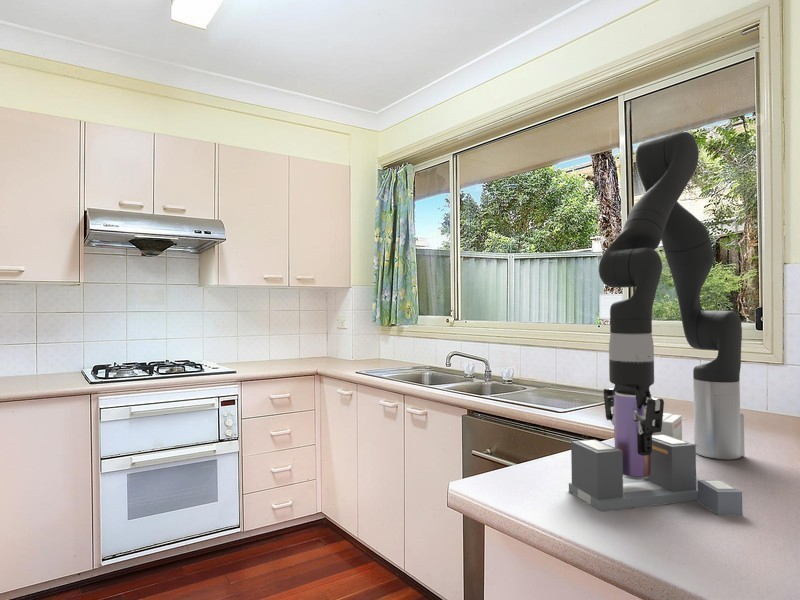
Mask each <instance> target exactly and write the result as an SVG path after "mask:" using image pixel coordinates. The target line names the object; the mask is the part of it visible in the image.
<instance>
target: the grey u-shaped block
mask: <svg viewBox="0 0 800 600" xmlns="http://www.w3.org/2000/svg"><path fill="white" fill-rule="evenodd" d="M570 443H571V445H570V448H571V452H570V453H571V461H570V462H571V482H568V491H569V493H571V494H573V495H575V496H576V497H578V498H579V499H581V500H582V501H584V502H586V503H587V504H589V505H591V506H592V507H594V508H596V509H597V510H598V511H601V512H602V511H603V512H605V511H613V510H623V509H630V508H632V507H633V508H639V507H641V506H642V507H650V506H658V505H667V504H668V505H669V504H677V503H685V502H694V501H695V502H696V501H698V489H697V455H696V454H697V453H696V445H695V444H694V443H691V442H688V441H685V440H683V439H682V440H679V439H676V438H673V437H670V436H667V435H652V452H651V474H650V476H649V477H648V478H647V479H642V480H635V479H628V478H624V477H623V454H622V450H619V449H617V448H615V446H612V445H609V444H606V443H605V442H602V441H600V440H597V439H586V440H585V439H584V440H572V441H571V442H570Z"/></svg>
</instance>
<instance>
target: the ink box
mask: <svg viewBox="0 0 800 600" xmlns="http://www.w3.org/2000/svg"><path fill="white" fill-rule="evenodd" d="M682 421H683V419H682V415H681V414H680V415H679V414H672V413H670V412H669V413H667V412H663V419H662V430H661V432H657V433H653V434H652V435H667V436H670V437H673V438H676V439H679V440H682V441H683V426H682V425H683V424H682ZM652 424H653V425H655V420H653V422H652Z"/></svg>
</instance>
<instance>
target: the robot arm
mask: <svg viewBox="0 0 800 600" xmlns="http://www.w3.org/2000/svg"><path fill="white" fill-rule="evenodd" d="M699 156H700V151H699V146H698V143H697V140H696V138H695V137H694V136H693V135H692V134H691V133H690V132H688V131H678V132H675V133H671V134H667V135H666V134H665V135H663V136H660V137H657V138H652V139H650V140H647V141H644V142H641V143H640V144H639V145H638V146H637V148H636V150H635V163H636V168H637V172H638V176H639V178H640V182H641V183H642V184H641V185H642V186H643V188H644V189H643V190H644V192H645V193H644V194H643V195H642V196H640V198H638V200H637V201H636V202H635V203H634V205H633V206H632V207H631V209H630V211H629V213H628V215H627V217H626V221H625V223H624V226H623V229H622V231H621V232H620V233H619V234H618V235H617V236H616V238H615V239H614V240H613V241H612V242H611V244H610V245H608V247H607V248H606V250H605V251H604V252H603V254H602V256H601V258H600V261H599V265H598V274H599V278H600V280H601V282H602V283H603V284H604V285H605V286H606V287H609V288H614V289H615V288H617V289H618V288H619V289H621V288H635V290H634V292H633V294H632V296H631V297H629V298H627V299H622V300H618V301H615V302H613V303H612V304H611V305H610V309H609V316H610V317H609V343H608V362H609V363H608V364H609V365H608V366H609V367H608V368H609V370H608V374H609V380H608V381H609V382H610V383H611V384H613V385H614V386H613V387H612V388H611V387H610V388H604V389H603V390H602V391H603V401H604V409H605V411H604V413H605V418H606V420H607V421H611V424H612V426H614V397H615V392H616V391H618V392H621V393H625V394H630V395H636V401H637V407H638V408H639V409H641V407H642V406H643V404H644V402H645V409H646V415H643V416H639V415H638V414H637V411H636V410H635V409H634V408H633V420H634V421H636V423H637V430H638V433H639V434H638V454H639V455H642V456H646V455H650V454H651V452H652V434H653V433H657V432H661V430H662V419H663V413H664V408H665V407H664V406H665V401H664V399H663V398H656V397H655V398H654V397H652V394H651V391H650V387H651V386H652V385H654V383H655V356H654V355H655V353H654V352H655V351H654V350H655V349H654V347H655V345H654V341H653V324H652V323H653V320H652V319H653V318H652V317H653V315H652V313H653V308H654V307H653V306H654V302H655V297H656V293H657V290H658V286H659V284H660V280H661V276H662V271H663V261H662V258H661V256H660V254H659V253H658V251H657V248H658V247H659V245H660V244H662V248H663V250H664V255H665V257H666V258H665V259H666V261H667V266H668V267H669V272H670V274H671V277H672V281H673V284H674V287H675V292H676V296H677V300H678V306H679V307H678V308H679V311H680V317H681V322H682V323H681V324H682V329H683V332H684V337H685V340H686V342H687V343H688V344H689V346H690V347H691V348H692V349H696V350H704V351H706V350H707V351H718V352H717V356H716V358H715V359H714V360H712V361H710V362H707V363H702V364H699V365H695V366H694V368H693V371H692V373H693V374H692V375H693V376H692V377H693V378H692V380H693V385H692V386H693V431H694V432H693V433H694V435H693V437H694V442H693V444H695V445H696V454H697V455H699V456H703V457H706V458H710V459H711V458H712V459H718V460H738V459H740V458H742V457H745V416H744V414H743V413H741V394H740V393H741V388H740V387H741V383H740V380H741V379H740V376H741V375H740V374H741V368H742V367H741V366H742V365H741V364H742V342H743V341H742V339H743V326H742V320H741V318H740V316H739V314H738V313H737V312H736V311H733V310H704V309H703V308H702V303H701V299H700V298H701V291H702V288H703V286H704V284H705V281H706V279H707V278H708V276H709V274H710V272H711V270H712V267H713V264H714V261H715V254H714V249H713V246H712V245H713V244H712V241H711V238H710V234H709V231H708V229H707V227H706V226H705V225H704V224H703V223H702V222H701V221H700V220H699V219H698V218H697V217H696V216H695V215H694V214H693V213H691V212H690V211H688V209H686V208H685V207H684V206H682V205H681V203H680V202H679V201H678V200H679V199H680V197H681V196H682V194H683V192H684V191H685V189H686V187H687V186H688V184H689V182H690V180H691V179H692V177H693V175H694V173H695V171H696V169H697V167H698V163H699ZM612 407H613V408H612ZM642 420H645V427H643V424H642ZM653 420H655V425H653V424H652V422H653ZM613 431H614V430H613ZM613 433H614V435H613V437H614V440H615V431H614V432H613Z"/></svg>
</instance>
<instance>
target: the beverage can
mask: <svg viewBox="0 0 800 600" xmlns="http://www.w3.org/2000/svg"><path fill="white" fill-rule="evenodd" d="M633 408H634V409H635V410H636V411H637V414H638V415H639V416H643V415H646V409H645V402H644V404H643V406H642V407H641V409H639V408H638V407H637V401H636V395H630V394H625V393H621V392H618V391H616V392H615V397H614V425H613V429H614V430H613V431H615V433H614V434H615V439H614V447H615V448H617V449H619V450H622V454H623V478H628V479H635V480H642V479H647V478H648V477H649V476H650V474H651V454H650V455H646V456H642V455H639V454H638V434H639V433H638V430H637V423H636V421H634V420H633ZM642 424H643V427H645V420H642Z"/></svg>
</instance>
